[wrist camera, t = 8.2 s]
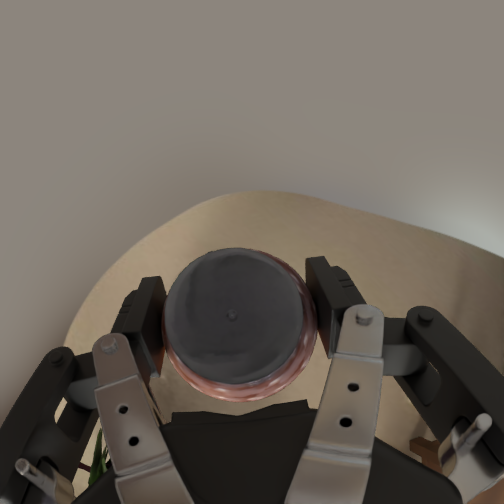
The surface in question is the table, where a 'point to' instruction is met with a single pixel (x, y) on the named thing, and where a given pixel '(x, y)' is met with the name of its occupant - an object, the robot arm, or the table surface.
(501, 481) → the shelf stand
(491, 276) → the table surface
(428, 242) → the table surface
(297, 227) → the table surface
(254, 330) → the supplement bottle
